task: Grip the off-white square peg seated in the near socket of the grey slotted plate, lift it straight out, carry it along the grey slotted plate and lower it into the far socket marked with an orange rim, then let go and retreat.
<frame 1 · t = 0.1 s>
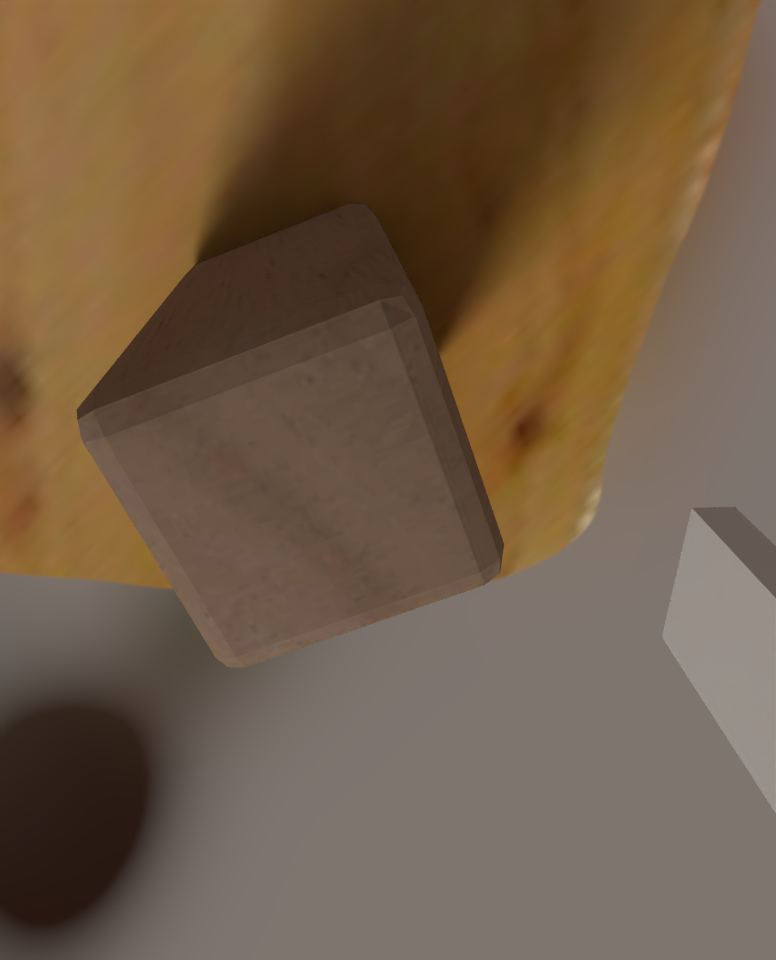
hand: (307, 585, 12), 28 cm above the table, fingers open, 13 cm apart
block: (312, 323, 39), on the table
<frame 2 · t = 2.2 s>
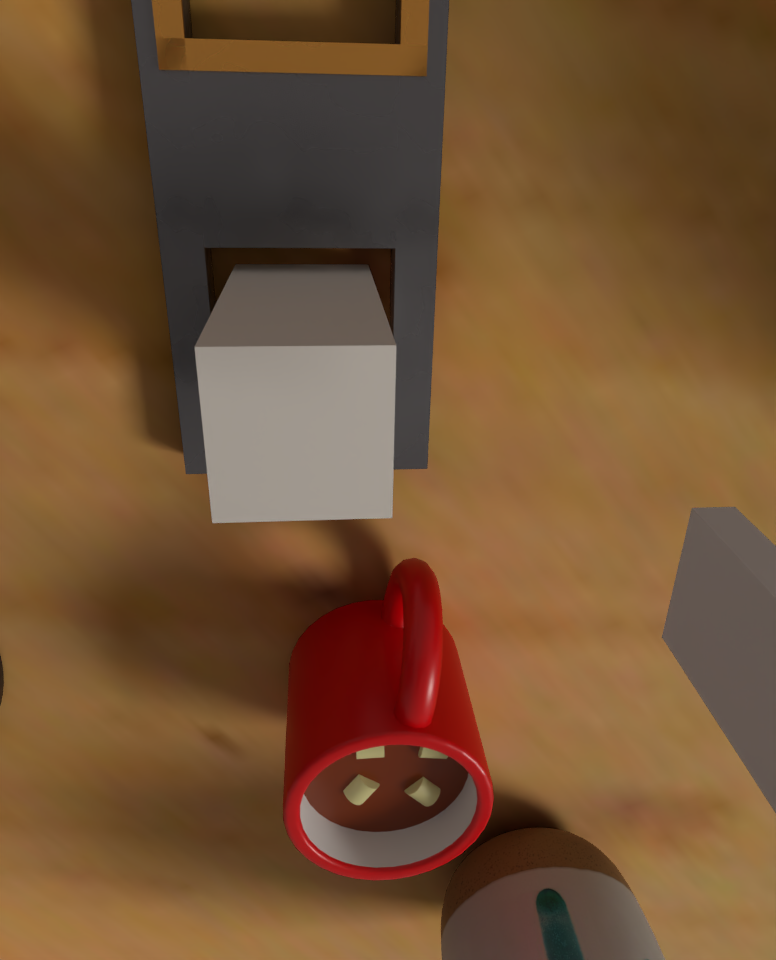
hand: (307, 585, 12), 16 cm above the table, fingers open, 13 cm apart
vase: (519, 854, 41), on the table
grey slotted plate: (298, 148, 24), on the table
mug: (380, 630, 34), on the table
peg: (304, 329, 27), resting in grey slotted plate
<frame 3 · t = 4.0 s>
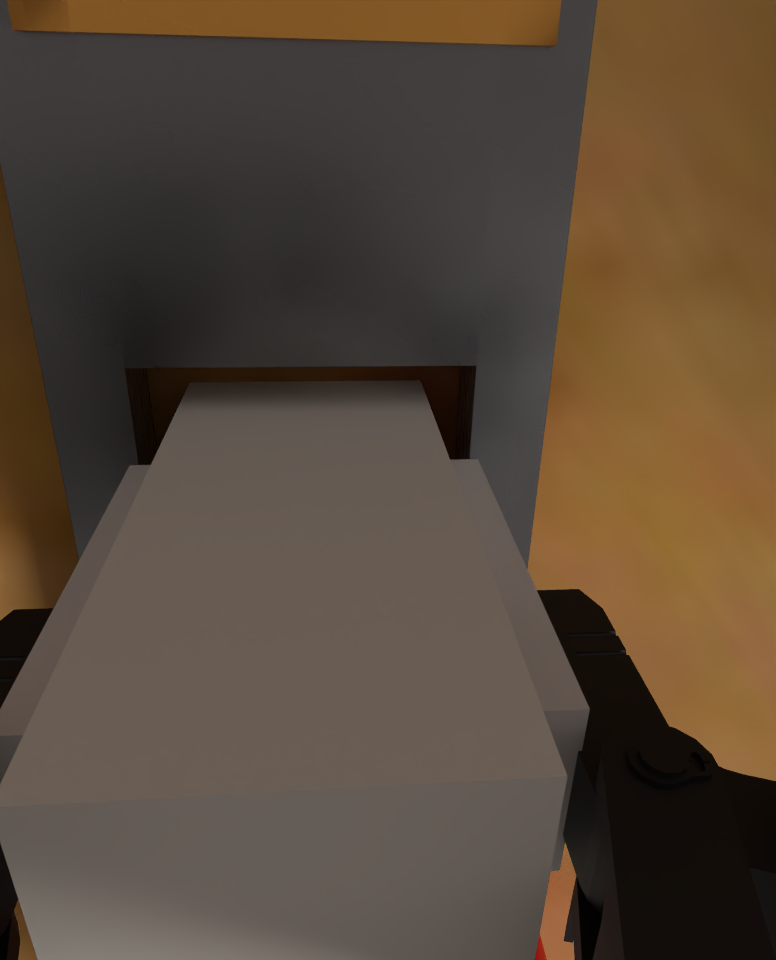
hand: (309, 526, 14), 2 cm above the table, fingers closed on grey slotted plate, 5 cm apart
grey slotted plate: (300, 183, 13), on the table
peg: (309, 483, 16), resting in grey slotted plate
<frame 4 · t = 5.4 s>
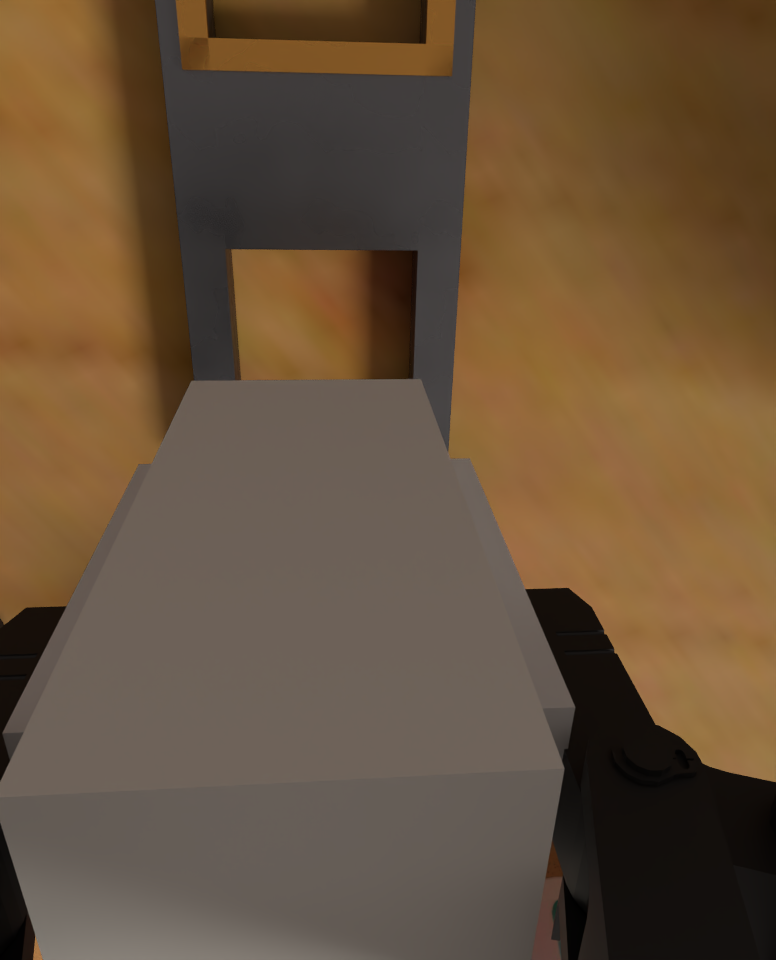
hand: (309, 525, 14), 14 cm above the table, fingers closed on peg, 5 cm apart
vase: (533, 862, 41), on the table
grey slotted plate: (320, 149, 24), on the table
peg: (310, 481, 16), point 12 cm above the table, touching gripper
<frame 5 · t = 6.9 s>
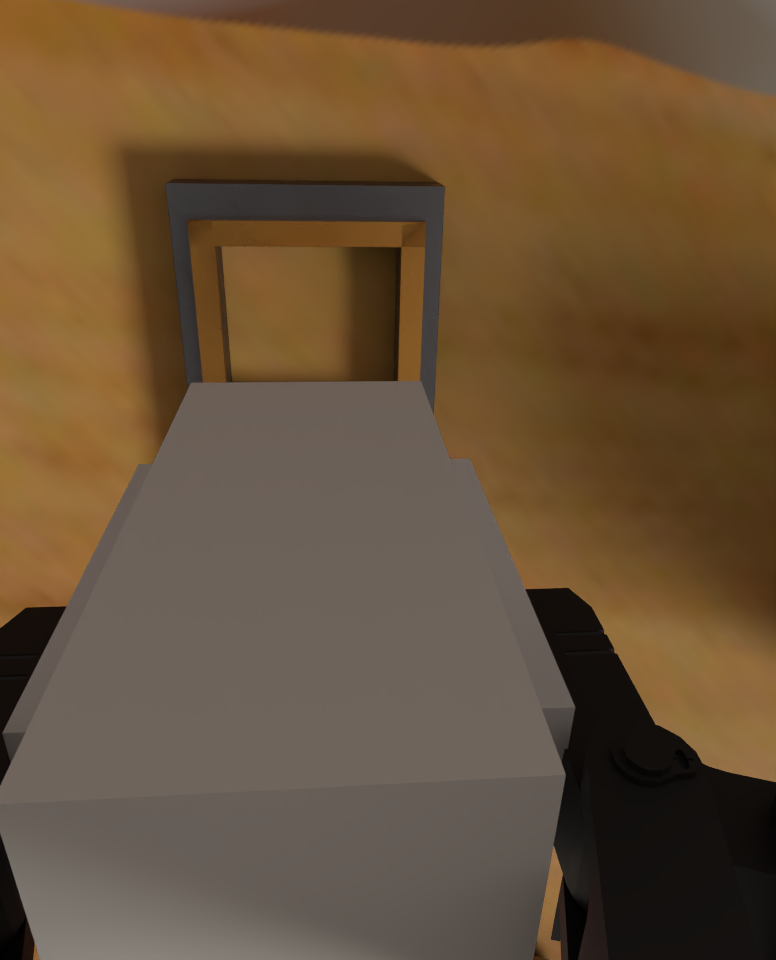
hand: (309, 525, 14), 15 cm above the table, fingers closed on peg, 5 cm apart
grey slotted plate: (315, 470, 30), on the table
peg: (310, 483, 16), point 13 cm above the table, touching gripper
when the fingers open (3 cm above the table, at t = 9.2 s): peg stays where it is, resting in grey slotted plate.
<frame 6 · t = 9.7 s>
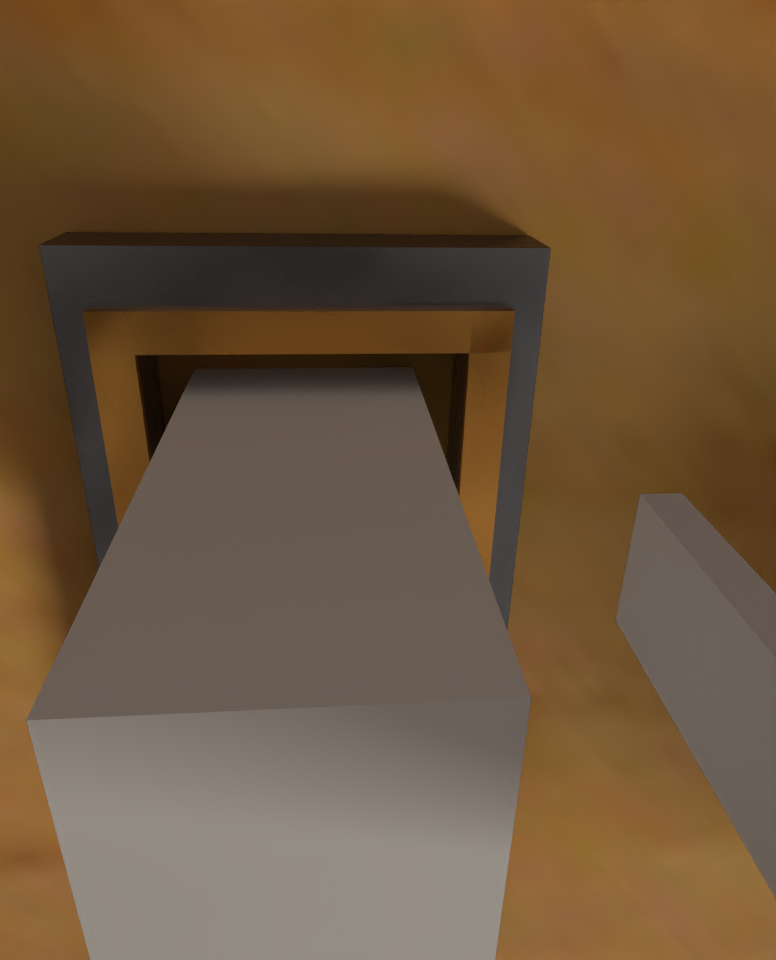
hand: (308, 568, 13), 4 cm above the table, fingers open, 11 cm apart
grey slotted plate: (317, 672, 19), on the table
peg: (308, 465, 17), resting in grey slotted plate
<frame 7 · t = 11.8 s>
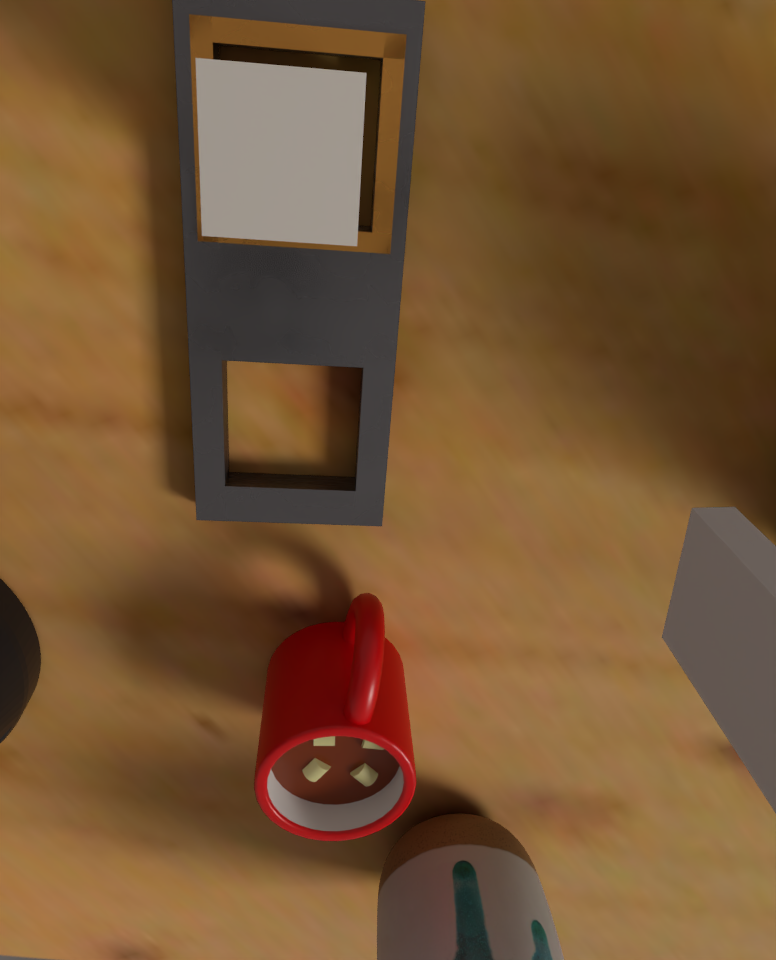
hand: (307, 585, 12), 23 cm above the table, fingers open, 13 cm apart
vase: (449, 836, 50), on the table
grey slotted plate: (296, 290, 33), on the table
mug: (342, 646, 42), on the table
peg: (297, 141, 30), resting in grey slotted plate
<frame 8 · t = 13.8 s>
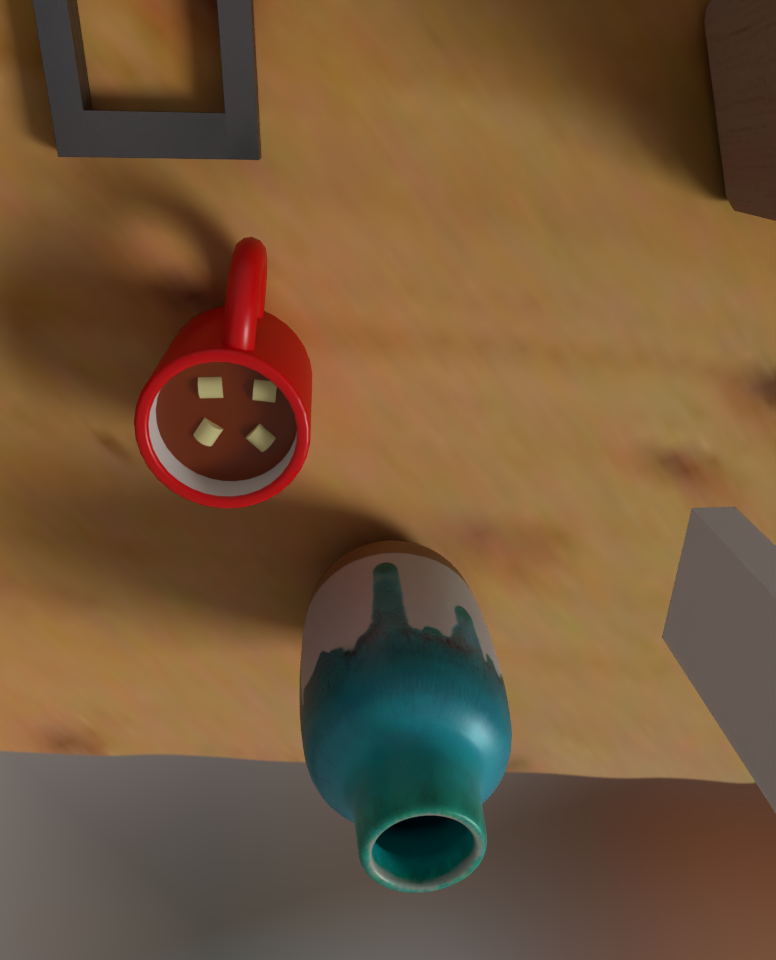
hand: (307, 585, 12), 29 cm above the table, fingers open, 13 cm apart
vase: (386, 583, 48), on the table
mug: (243, 339, 40), on the table
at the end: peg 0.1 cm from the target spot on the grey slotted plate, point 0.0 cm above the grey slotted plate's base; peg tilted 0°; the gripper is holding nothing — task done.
